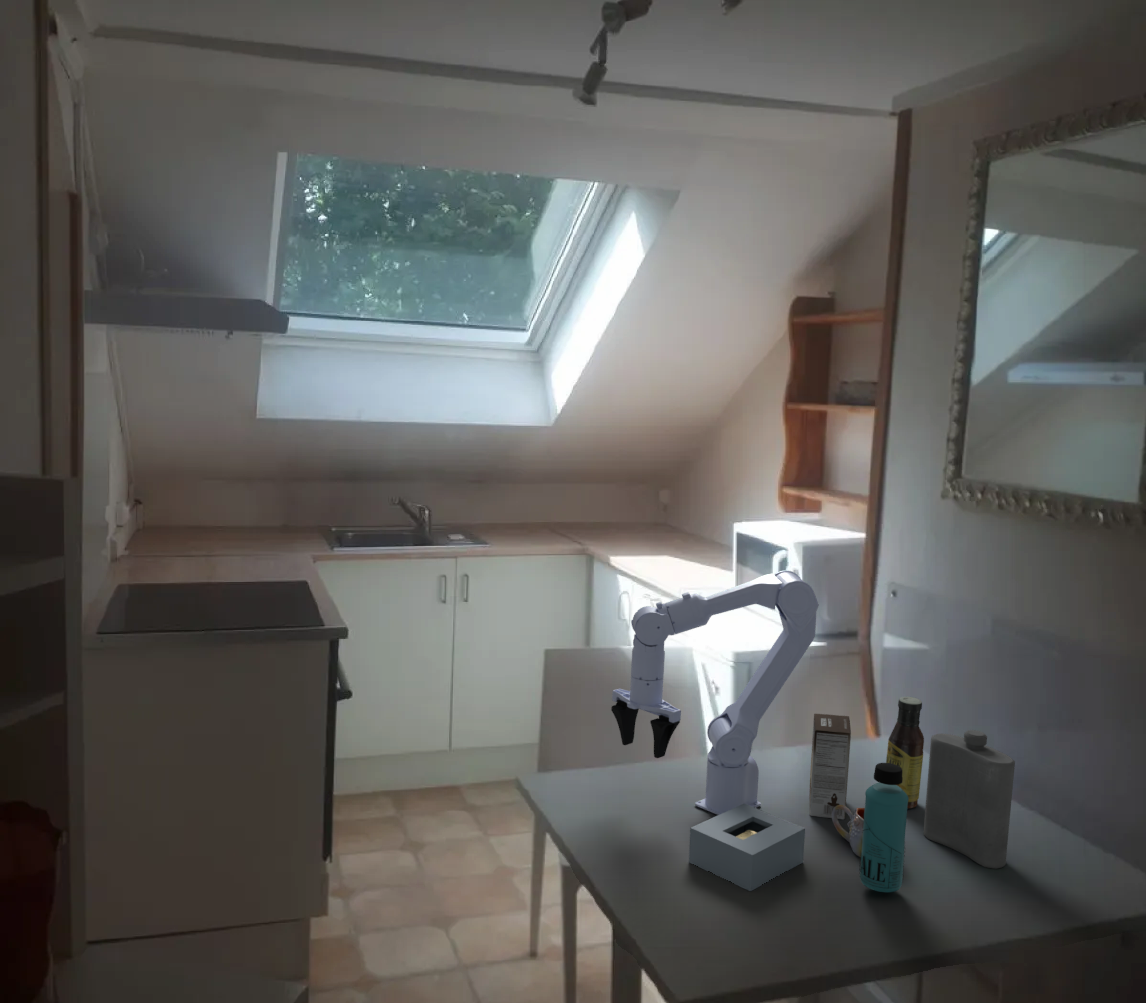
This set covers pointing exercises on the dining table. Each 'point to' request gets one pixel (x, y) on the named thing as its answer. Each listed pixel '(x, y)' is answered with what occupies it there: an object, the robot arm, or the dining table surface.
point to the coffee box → (829, 764)
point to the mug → (851, 827)
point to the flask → (969, 797)
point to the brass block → (746, 834)
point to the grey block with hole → (746, 846)
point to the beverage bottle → (884, 830)
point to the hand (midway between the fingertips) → (643, 750)
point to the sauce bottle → (908, 747)
